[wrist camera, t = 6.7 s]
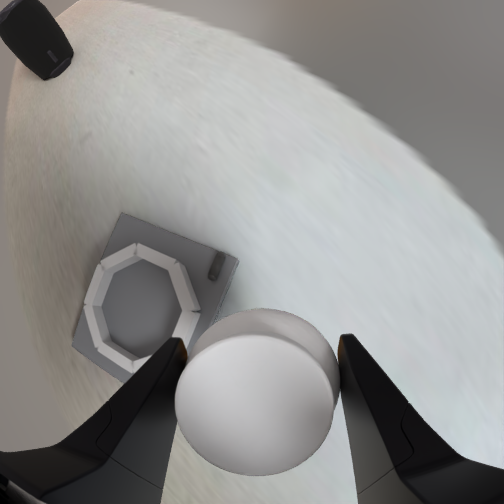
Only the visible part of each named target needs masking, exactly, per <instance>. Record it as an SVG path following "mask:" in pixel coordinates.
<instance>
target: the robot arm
mask: <svg viewBox="0 0 504 504" xmlns="http://www.w3.org/2000/svg"><path fill="white" fill-rule="evenodd" d="M187 359H188V353H187V350H186V347H185V345H184V342H183V340H182V338H180V337H170V338H169V339H168V340H167V341H166V342H165V343H164V344H163V345H162V346H161V347H160V348H159V349H158V350H157V351H156V352H155V353H154V354H153V355H152V356H151V357H150V358H149V359H148V360H147V361H146V362H145V363H144V364H143V365H142V366H141V367H140V368H139V369H138V370H137V371H136V372H135V373H134V374H133V375H132V376H131V377H130V378H129V379H128V380H127V381H126V382H125V384H124V385H123V386H122V387H121V388H120V389H119V390H118V391H117V392H116V393H115V394H114V395H113V396H112V397H111V398H110V399H109V401H107V402H106V403H105V404H104V405H103V406H102V407H101V408H100V409H99V410H98V411H97V412H96V413H95V414H94V415H93V416H91V417H90V418H89V419H88V420H87V421H86V422H84V423H83V424H82V425H81V426H80V427H78V428H77V429H76V430H75V431H73V432H72V433H71V434H70V435H69V436H67V437H66V438H65V439H64V440H62V441H61V442H59V443H57V444H55V445H53V446H50V447H45V448H39V449H32V450H26V451H18V452H2V451H0V504H160V503H161V497H162V492H163V490H162V489H163V487H164V482H165V477H166V472H167V467H168V462H169V457H170V453H171V448H172V443H173V439H174V434H175V430H176V425H177V417H176V411H175V393H176V388H177V384H178V381H179V378H180V376H181V374H182V372H183V370H184V369H185V366H186V362H187ZM338 366H339V371H340V392H341V399H342V404H343V409H344V415H345V420H346V426H347V431H348V437H349V443H350V449H351V455H352V462H353V468H354V475H355V482H356V490H357V498H358V504H504V469H501V468H497V467H493V466H490V465H486V464H483V463H479V462H476V461H473V460H470V459H467V458H465V457H463V456H461V455H460V454H458V453H457V452H456V451H455V450H454V449H453V448H452V447H451V446H450V445H449V444H447V443H446V442H445V441H444V440H443V439H442V438H441V437H440V436H439V435H438V434H437V433H436V432H435V431H434V430H433V429H432V428H431V427H430V426H429V425H428V424H427V423H426V422H425V421H424V420H423V418H422V417H421V416H420V415H419V414H418V412H417V411H416V410H415V409H414V408H413V406H412V405H411V404H410V403H408V400H407V399H406V398H405V396H404V395H403V394H402V393H401V391H400V390H399V389H398V388H397V387H396V385H395V384H394V383H393V382H392V380H391V379H390V378H389V377H388V376H387V374H386V373H385V372H384V371H383V369H382V368H381V367H380V366H379V365H378V363H377V362H376V361H375V360H374V359H373V357H372V356H371V355H370V354H369V353H368V351H367V350H366V349H365V348H364V347H363V345H362V344H361V343H360V342H359V341H358V339H357V338H356V337H355V336H354V335H353V334H351V333H350V334H342V335H341V336H340V340H339V345H338Z"/></svg>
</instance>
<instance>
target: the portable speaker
mask: <svg viewBox="0 0 504 504" xmlns="http://www.w3.org/2000/svg"><path fill="white" fill-rule="evenodd" d="M0 36H1V38H2V40H3V41H4V43H5V44H6V45H7V46H8V47H9V49H10V50H11V51H12V52H13V53H14V54H15V55H16V56H17V57H18V58H19V59H20V61H21V62H22V63H23V64H24V65H25V66H26V67H28V68H29V69H30V70H31V71H33V72H34V73H35V74H36V75H38V76H39V77H40V78H41V79H43V80H46V79H47V78H48V77H54V78H55V77H57V76H59V75H60V74H61V73H62V72H63V71H64V70H65V69H66V68H67V67H68V66H69V65H70V64H71V61H70V58H71V56H72V55H73V53H74V52H73V49H72V47H71V45H70V43H69V41H68V39H67V38H66V36H65V34H64V32H63V30H62V29H61V28H60V26H59V25H58V23H57V22H56V21H55V19H54V18H53V16H52V15H51V14H50V12H49V11H48V10H47V8H46V7H45V6H44V5H43V4H42V3H41V2H40V1H38V0H14V1H12V2H11V3H10V4H8V5H7V6H6V7H5V8H4V9H3V10H2V11H1V12H0Z"/></svg>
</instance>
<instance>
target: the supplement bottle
mask: <svg viewBox="0 0 504 504" xmlns="http://www.w3.org/2000/svg"><path fill="white" fill-rule="evenodd" d="M339 393H340V371H339V366H338V362H337V359H336V356H335V354H334V351H333V350H332V348H331V346H330V345H329V343H328V341H327V340H326V339H325V338H324V336H323V335H322V334H321V333H320V332H319V331H318V330H317V329H316V328H315V327H314V326H313V325H312V324H310V323H308V322H307V321H305V320H304V319H302V318H300V317H298V316H296V315H294V314H291V313H288V312H285V311H280V310H275V309H264V308H261V309H251V310H246V311H241V312H238V313H234V314H232V315H229V316H227V317H225V318H223V319H221V320H219V321H218V322H216V323H215V324H213V325H212V326H211V327H210V328H208V329H207V330H206V331H205V332H204V333H203V334H202V335H201V336H200V338H199V339H198V340H197V342H196V343H195V344H194V346H193V348H192V350H191V352H190V354H189V356H188V359H187V362H186V366H185V369H184V370H183V372H182V374H181V376H180V378H179V381H178V384H177V388H176V393H175V411H176V417H177V421H178V424H179V427H180V429H181V431H182V433H183V435H184V437H185V438H186V440H187V441H188V443H189V444H190V445H191V447H192V448H193V449H194V450H195V451H196V452H197V453H198V454H199V455H200V456H202V457H203V458H204V459H205V460H207V461H208V462H210V463H211V464H213V465H215V466H217V467H219V468H221V469H223V470H226V471H229V472H232V473H236V474H240V475H248V476H266V475H273V474H277V473H281V472H284V471H287V470H289V469H292V468H294V467H296V466H298V465H299V464H301V463H302V462H304V461H306V460H307V459H308V458H309V457H310V456H312V455H313V454H314V453H315V452H316V451H317V450H318V448H319V447H320V446H321V444H322V443H323V442H324V440H325V438H326V436H327V435H328V432H329V430H330V428H331V424H332V420H333V413H334V410H335V407H336V405H337V401H338V398H339Z"/></svg>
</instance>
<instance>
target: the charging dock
mask: <svg viewBox="0 0 504 504" xmlns="http://www.w3.org/2000/svg"><path fill="white" fill-rule="evenodd" d="M238 263H239V260H238V259H237V258H235V257H232V256H230V255H227V254H225V253H223V252H219V251H217V250H214V249H212V248H209V247H207V246H204V245H202V244H199V243H197V242H194V241H192V240H189V239H187V238H184V237H181V236H179V235H176V234H174V233H171V232H169V231H166V230H164V229H161V228H159V227H156V226H154V225H151V224H149V223H146V222H144V221H142V220H139V219H137V218H134V217H132V216H129V215H127V214H124V213H122V214H121V216H120V218H119V220H118V222H117V224H116V226H115V229H114V231H113V233H112V235H111V238H110V240H109V242H108V244H107V247H106V249H105V251H104V254H103V256H102V259H101V261H100V264H98V265H97V267H96V270H95V273H94V275H93V278H92V280H91V283H90V286H89V288H88V291H87V294H86V297H85V300H84V303H85V304H84V306H83V310H82V313H81V316H80V319H79V322H78V325H77V329H76V332H75V335H74V339H73V342H72V347H74V348H75V349H76V350H77V351H79V352H80V353H81V354H83V355H84V356H85V357H87V358H88V359H89V360H91V361H92V362H93V363H95V364H96V365H98V366H99V367H100V368H102V369H103V370H105V371H106V372H108V373H109V374H110V375H112V376H113V377H115V378H116V379H118V380H119V381H121V382H123V383H124V384H125V382H126V381H127V380H128V379H129V378H130V377H131V376H132V375H133V374H134V373H135V372H136V371H137V370H138V369H139V368H140V367H141V366H142V365H143V364H144V363H145V362H146V361H147V360H148V359H149V358H150V357H151V356H152V355H153V354H154V353H155V352H156V351H157V350H158V349H159V348H160V347H161V346H162V345H163V344H164V343H165V342H166V341H167V340H168V339H169V338H170V337H180V338H182V340H183V342H184V345H185V347H186V350H187V353H188V356H189V354H190V352H191V350H192V348H193V346H194V344H195V343H196V342H197V340H198V339H199V338H200V336H201V335H202V334H203V333H204V332H205V331H206V330H207V329H208V328H210V327H211V326H212V325H213V323H214V321H215V318H216V316H217V313H218V311H219V309H220V306H221V304H222V301H223V299H224V297H225V294H226V292H227V289H228V287H229V285H230V282H231V280H232V277H233V275H234V273H235V270H236V268H237V265H238Z"/></svg>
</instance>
